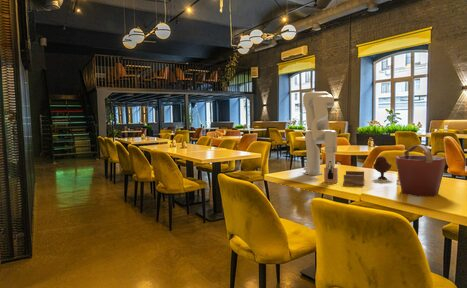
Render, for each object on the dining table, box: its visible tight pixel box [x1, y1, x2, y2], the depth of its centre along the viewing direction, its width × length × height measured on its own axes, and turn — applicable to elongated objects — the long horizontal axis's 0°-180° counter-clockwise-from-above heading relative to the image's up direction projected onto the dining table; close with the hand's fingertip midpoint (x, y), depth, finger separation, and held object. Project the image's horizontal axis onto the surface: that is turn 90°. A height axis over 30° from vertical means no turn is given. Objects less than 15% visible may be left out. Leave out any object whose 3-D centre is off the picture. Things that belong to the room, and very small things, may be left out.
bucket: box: [395, 144, 446, 197], centre depth 168 cm, size 24×22×25 cm
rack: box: [342, 170, 366, 187], centre depth 200 cm, size 17×12×6 cm
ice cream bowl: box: [373, 155, 392, 180], centre depth 210 cm, size 11×11×15 cm
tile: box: [323, 166, 339, 183], centre depth 206 cm, size 3×8×9 cm, turn 67°
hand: (331, 177), depth 206 cm, fingers open, 5 cm apart
